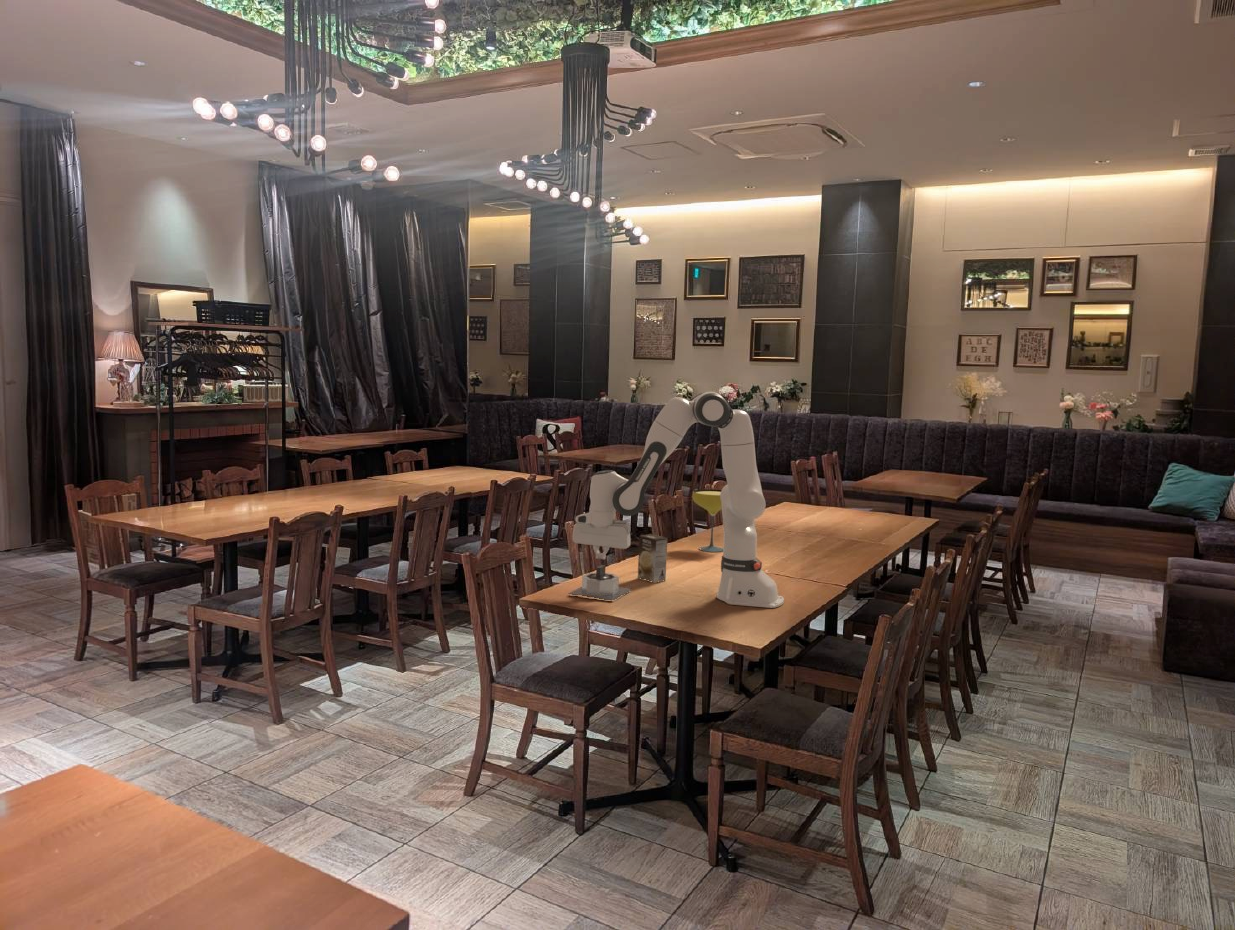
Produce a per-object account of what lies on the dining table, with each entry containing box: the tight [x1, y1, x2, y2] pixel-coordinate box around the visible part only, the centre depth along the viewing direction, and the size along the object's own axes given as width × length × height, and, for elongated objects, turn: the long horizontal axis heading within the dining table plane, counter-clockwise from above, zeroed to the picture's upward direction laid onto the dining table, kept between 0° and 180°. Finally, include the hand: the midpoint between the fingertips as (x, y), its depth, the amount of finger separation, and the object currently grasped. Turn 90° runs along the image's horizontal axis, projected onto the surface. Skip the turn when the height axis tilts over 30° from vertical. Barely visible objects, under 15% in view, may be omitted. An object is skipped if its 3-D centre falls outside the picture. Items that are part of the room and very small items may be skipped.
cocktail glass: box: [691, 488, 723, 553], centre depth 375 cm, size 18×18×25 cm
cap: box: [592, 564, 610, 580], centre depth 296 cm, size 6×6×5 cm
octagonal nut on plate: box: [568, 572, 632, 600], centre depth 296 cm, size 16×16×6 cm
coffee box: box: [637, 533, 668, 583], centre depth 318 cm, size 9×6×16 cm
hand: (600, 558), depth 295 cm, fingers closed
